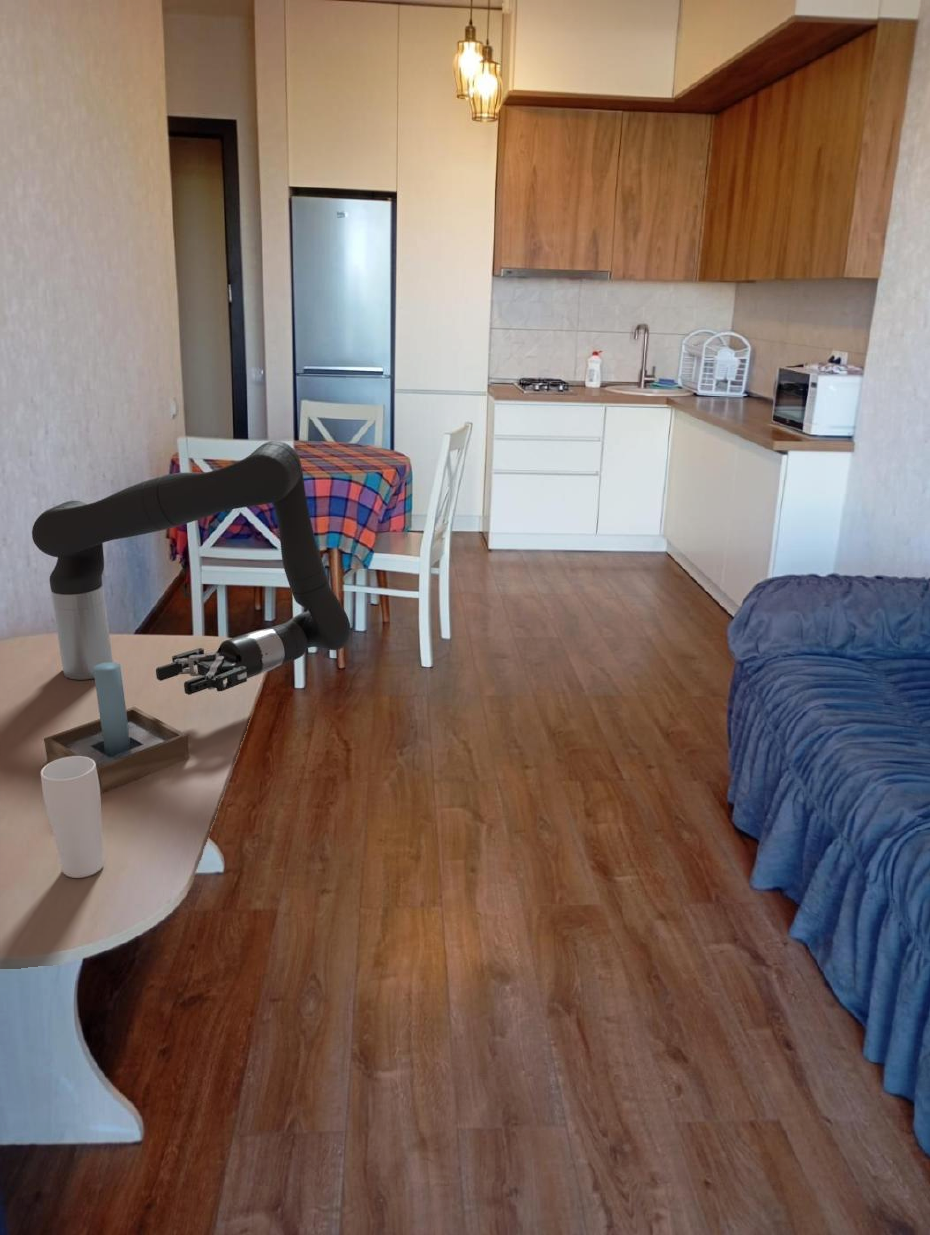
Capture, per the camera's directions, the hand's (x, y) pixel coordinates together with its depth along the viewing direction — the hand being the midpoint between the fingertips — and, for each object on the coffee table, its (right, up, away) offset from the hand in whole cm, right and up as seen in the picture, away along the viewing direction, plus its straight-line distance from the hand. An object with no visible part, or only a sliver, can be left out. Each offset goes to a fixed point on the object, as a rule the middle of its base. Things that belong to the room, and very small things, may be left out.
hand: (171, 681), depth 165 cm
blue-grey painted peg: (-7, -12, -4) cm, 15 cm away
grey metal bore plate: (-7, -12, -4) cm, 15 cm away
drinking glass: (-2, -23, -33) cm, 40 cm away
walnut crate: (-7, -12, -4) cm, 15 cm away
